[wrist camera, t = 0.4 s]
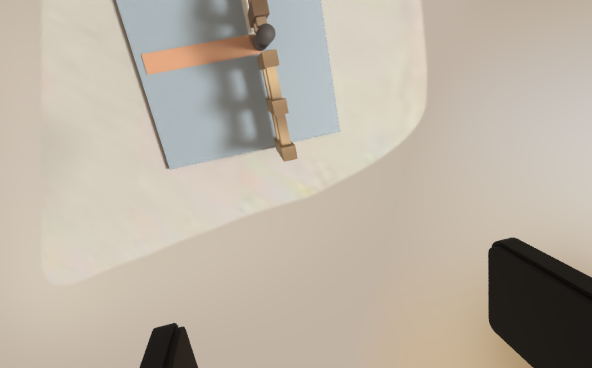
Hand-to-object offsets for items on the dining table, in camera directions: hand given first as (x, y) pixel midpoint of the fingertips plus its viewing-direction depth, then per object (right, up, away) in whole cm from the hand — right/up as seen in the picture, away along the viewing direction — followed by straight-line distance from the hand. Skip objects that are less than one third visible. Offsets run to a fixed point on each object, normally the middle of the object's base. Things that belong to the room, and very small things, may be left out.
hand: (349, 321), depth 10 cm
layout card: (-8, +17, +22) cm, 29 cm away
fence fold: (-4, +12, +23) cm, 26 cm away
